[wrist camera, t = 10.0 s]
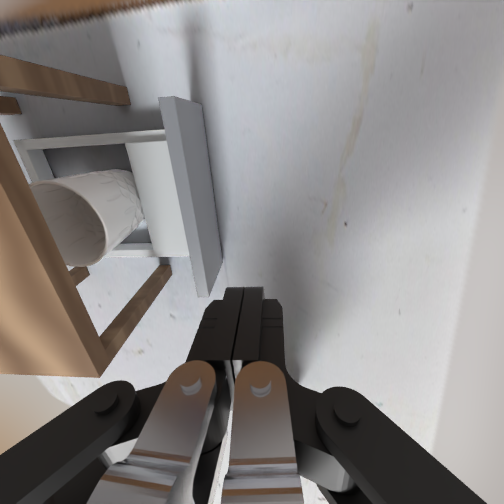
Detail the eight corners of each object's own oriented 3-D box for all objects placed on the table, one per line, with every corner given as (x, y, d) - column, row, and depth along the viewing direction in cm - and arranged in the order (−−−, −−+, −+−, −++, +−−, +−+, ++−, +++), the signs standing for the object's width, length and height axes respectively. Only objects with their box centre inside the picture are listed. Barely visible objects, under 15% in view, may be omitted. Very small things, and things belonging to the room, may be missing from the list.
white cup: (115, 148, 28) (39, 158, 19) (170, 200, 30) (125, 231, 21) (82, 195, 30) (2, 223, 22) (134, 239, 33) (80, 281, 24)
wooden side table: (126, 87, 25) (-76, 35, 11) (172, 274, 35) (99, 377, 20) (2, 98, 26) (-321, 67, 12) (80, 275, 36) (-47, 371, 22)
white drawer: (201, 104, 25) (173, 96, 18) (222, 262, 33) (208, 297, 26) (21, 119, 27) (-63, 117, 20) (83, 264, 35) (37, 296, 28)
